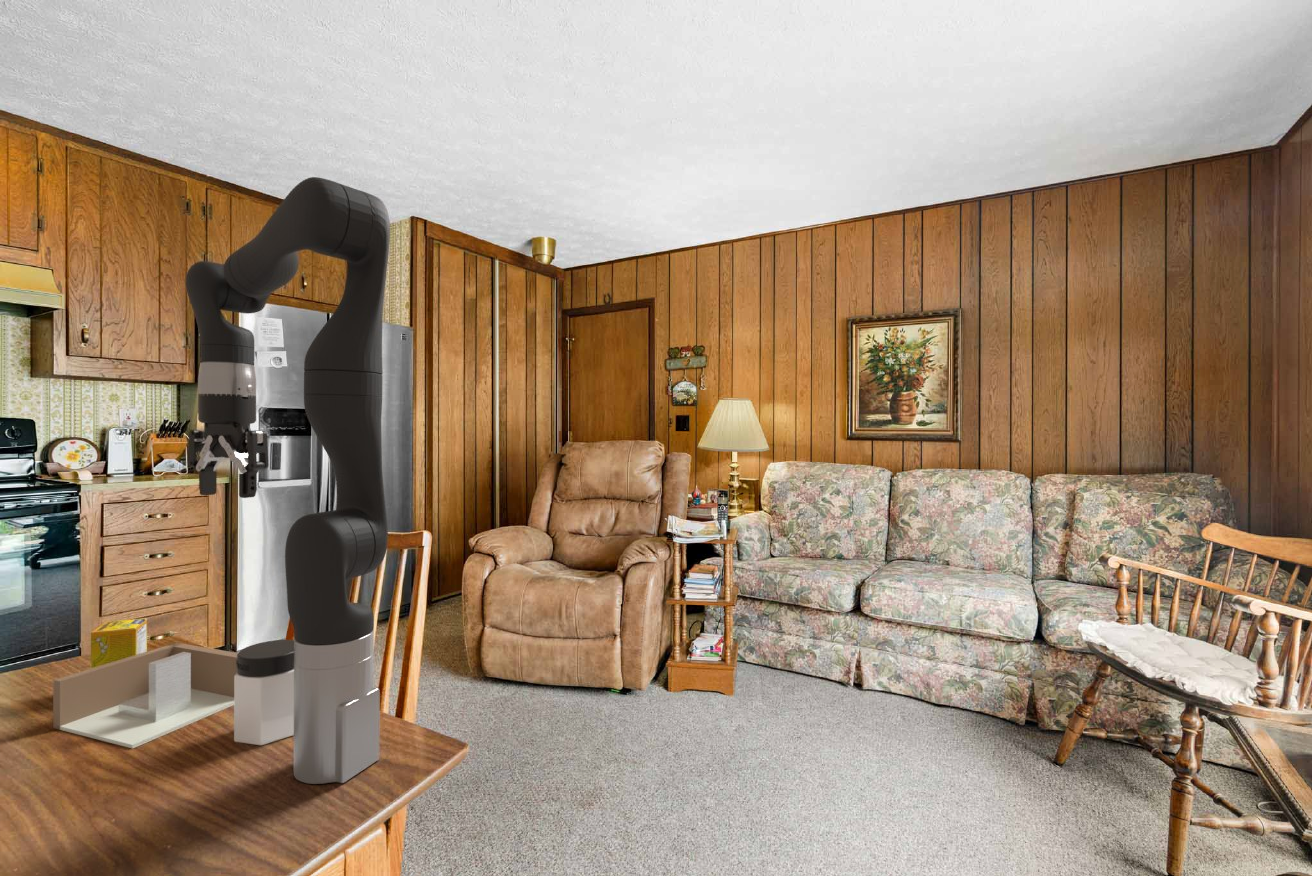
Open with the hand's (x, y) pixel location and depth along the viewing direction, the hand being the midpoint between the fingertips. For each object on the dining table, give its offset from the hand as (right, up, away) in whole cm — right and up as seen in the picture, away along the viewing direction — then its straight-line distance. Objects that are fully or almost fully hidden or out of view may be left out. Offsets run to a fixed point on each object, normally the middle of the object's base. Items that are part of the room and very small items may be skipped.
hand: (227, 496), depth 98 cm
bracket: (-9, -33, -3) cm, 34 cm away
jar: (+12, -34, -8) cm, 36 cm away
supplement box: (-22, -33, +6) cm, 40 cm away
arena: (-9, -33, -2) cm, 34 cm away
